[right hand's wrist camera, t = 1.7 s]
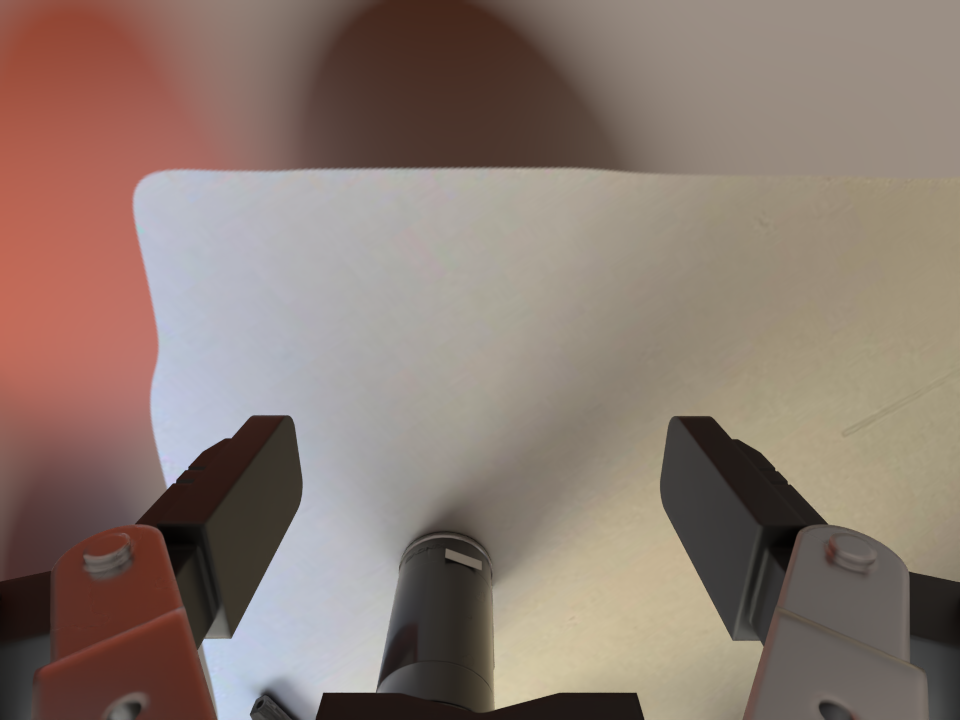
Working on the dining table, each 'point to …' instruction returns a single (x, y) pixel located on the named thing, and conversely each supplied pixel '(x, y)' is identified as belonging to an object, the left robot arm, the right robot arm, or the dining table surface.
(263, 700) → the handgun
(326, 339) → the dining table surface
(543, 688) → the dining table surface
